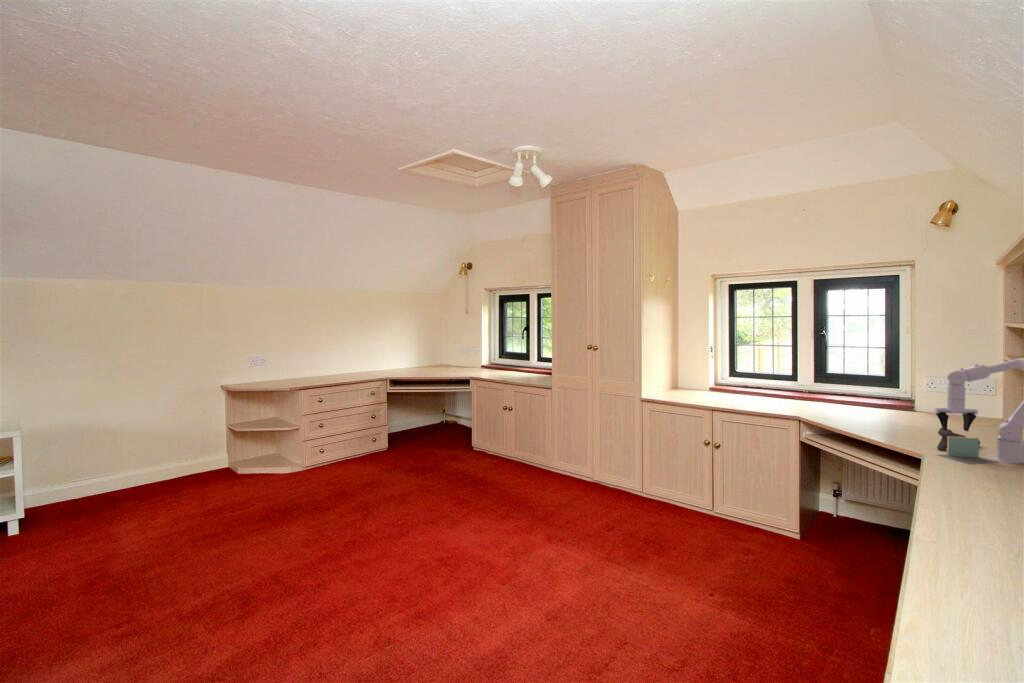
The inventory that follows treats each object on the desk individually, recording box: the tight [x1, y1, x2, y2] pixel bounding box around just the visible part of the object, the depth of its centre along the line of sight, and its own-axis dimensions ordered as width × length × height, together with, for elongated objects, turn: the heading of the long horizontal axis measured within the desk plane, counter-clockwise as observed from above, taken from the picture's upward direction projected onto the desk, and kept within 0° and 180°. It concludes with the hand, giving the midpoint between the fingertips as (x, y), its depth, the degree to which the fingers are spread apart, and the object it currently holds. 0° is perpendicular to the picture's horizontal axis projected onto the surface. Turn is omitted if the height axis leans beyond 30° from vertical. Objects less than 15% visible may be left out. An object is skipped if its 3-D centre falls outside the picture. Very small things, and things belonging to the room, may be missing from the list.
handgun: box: [936, 427, 981, 452], centre depth 226 cm, size 4×24×10 cm, turn 108°
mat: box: [936, 453, 1001, 465], centre depth 209 cm, size 14×14×1 cm
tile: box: [946, 436, 980, 458], centre depth 212 cm, size 2×10×8 cm, turn 67°
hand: (955, 430), depth 216 cm, fingers open, 7 cm apart
